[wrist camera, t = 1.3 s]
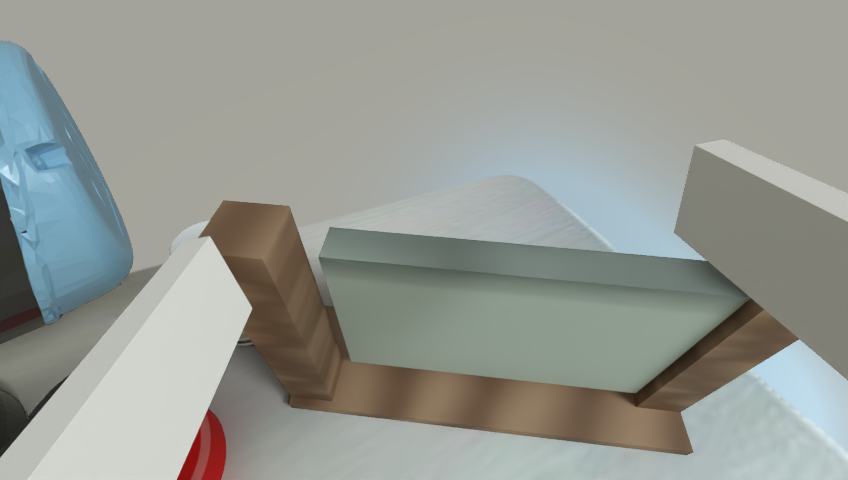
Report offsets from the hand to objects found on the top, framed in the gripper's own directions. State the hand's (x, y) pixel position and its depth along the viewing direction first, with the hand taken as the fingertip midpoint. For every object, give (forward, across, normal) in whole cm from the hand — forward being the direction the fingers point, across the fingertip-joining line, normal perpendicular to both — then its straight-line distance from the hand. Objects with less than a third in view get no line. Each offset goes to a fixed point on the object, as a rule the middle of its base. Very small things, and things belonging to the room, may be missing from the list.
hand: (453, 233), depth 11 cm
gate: (+9, +2, -17) cm, 19 cm away
